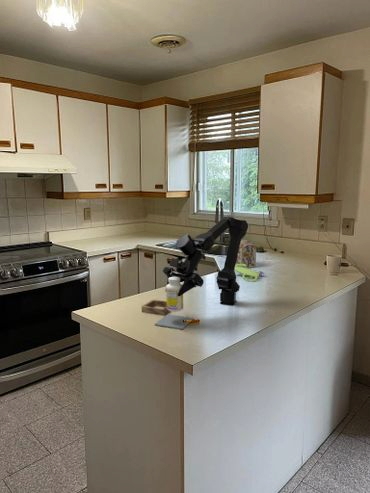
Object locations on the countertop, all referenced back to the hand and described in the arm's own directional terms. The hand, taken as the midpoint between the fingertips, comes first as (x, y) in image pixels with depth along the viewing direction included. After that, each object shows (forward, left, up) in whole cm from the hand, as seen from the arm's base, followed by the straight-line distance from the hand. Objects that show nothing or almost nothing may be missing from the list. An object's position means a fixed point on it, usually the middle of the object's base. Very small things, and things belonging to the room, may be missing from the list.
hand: (172, 294), depth 148 cm
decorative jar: (-2, -110, -12) cm, 111 cm away
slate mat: (-1, -1, -12) cm, 12 cm away
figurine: (-7, -86, -13) cm, 88 cm away
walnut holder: (+12, -12, -12) cm, 21 cm away
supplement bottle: (-1, -1, -7) cm, 7 cm away
